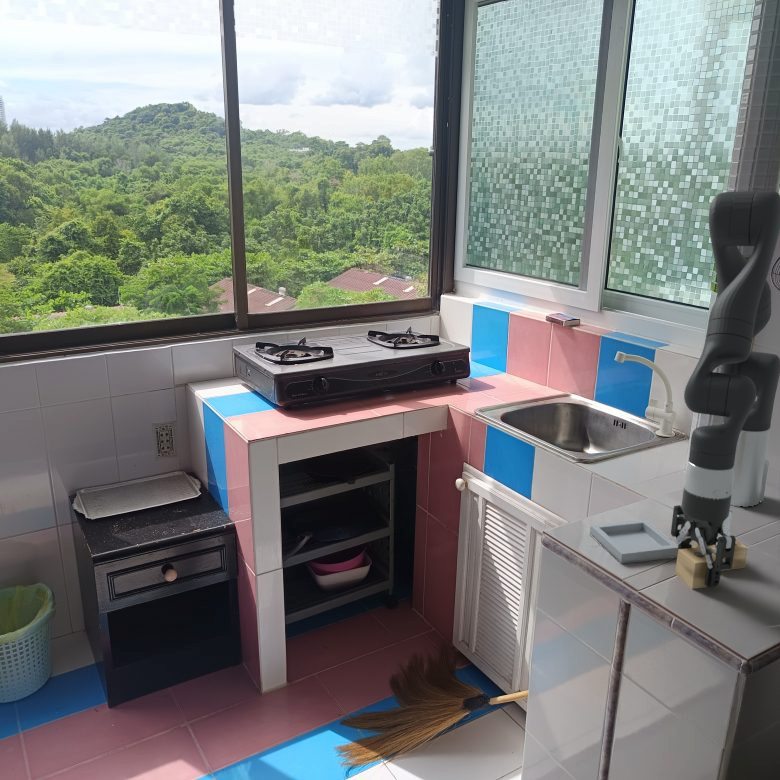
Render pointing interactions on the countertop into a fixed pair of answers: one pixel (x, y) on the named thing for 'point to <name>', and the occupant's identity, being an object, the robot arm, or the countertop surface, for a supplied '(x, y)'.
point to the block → (692, 567)
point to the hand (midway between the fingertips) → (696, 574)
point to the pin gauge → (727, 524)
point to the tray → (634, 541)
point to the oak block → (739, 554)
